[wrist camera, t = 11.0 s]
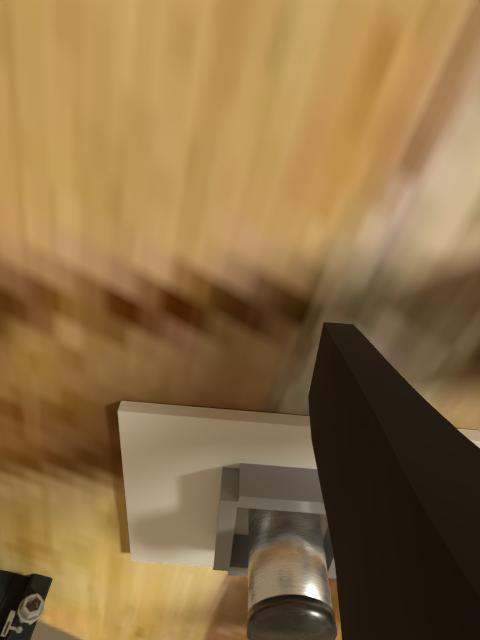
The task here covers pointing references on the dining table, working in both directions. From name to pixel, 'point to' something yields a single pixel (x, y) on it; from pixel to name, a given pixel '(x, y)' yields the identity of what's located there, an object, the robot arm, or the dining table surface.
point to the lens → (287, 578)
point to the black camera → (21, 604)
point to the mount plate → (214, 480)
